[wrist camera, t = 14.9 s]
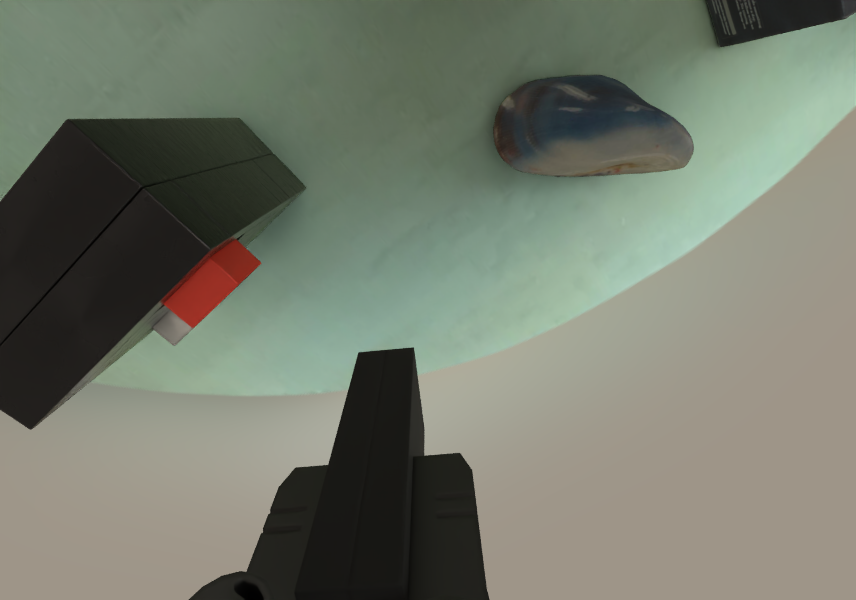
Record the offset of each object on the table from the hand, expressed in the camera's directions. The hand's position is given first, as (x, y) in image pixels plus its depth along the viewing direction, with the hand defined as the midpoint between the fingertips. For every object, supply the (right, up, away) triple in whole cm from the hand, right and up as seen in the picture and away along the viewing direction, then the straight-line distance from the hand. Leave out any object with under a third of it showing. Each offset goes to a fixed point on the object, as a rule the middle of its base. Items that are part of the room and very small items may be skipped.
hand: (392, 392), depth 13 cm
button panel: (-14, +9, +19) cm, 25 cm away
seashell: (+11, +13, +18) cm, 25 cm away
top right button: (-10, +4, +10) cm, 15 cm away
